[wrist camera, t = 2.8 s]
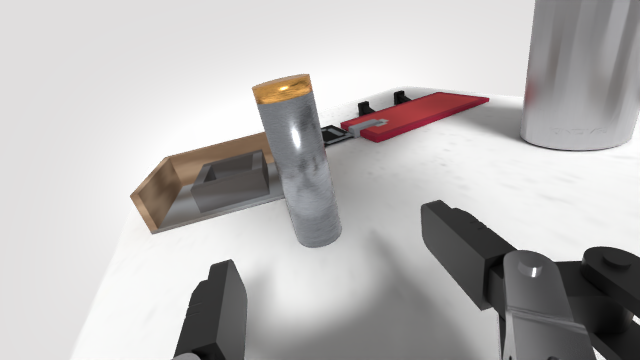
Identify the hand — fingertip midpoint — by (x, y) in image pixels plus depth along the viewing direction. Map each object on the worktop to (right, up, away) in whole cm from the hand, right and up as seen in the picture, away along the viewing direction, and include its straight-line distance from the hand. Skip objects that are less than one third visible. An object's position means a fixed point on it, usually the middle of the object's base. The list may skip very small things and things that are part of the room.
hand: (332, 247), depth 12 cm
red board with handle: (+12, +13, +38) cm, 42 cm away
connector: (-1, -2, +13) cm, 13 cm away
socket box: (-11, +1, +24) cm, 27 cm away
